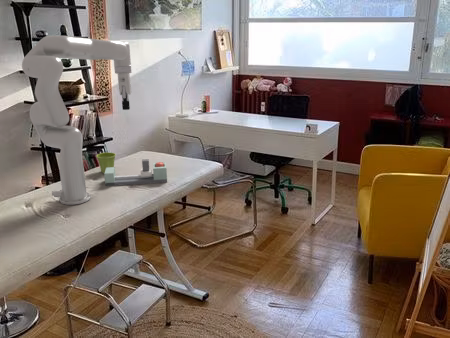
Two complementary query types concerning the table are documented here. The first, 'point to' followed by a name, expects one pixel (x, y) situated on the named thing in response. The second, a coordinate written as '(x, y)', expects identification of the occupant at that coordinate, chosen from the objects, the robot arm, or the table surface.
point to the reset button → (159, 164)
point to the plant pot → (106, 160)
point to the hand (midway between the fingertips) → (126, 109)
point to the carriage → (146, 168)
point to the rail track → (135, 177)
